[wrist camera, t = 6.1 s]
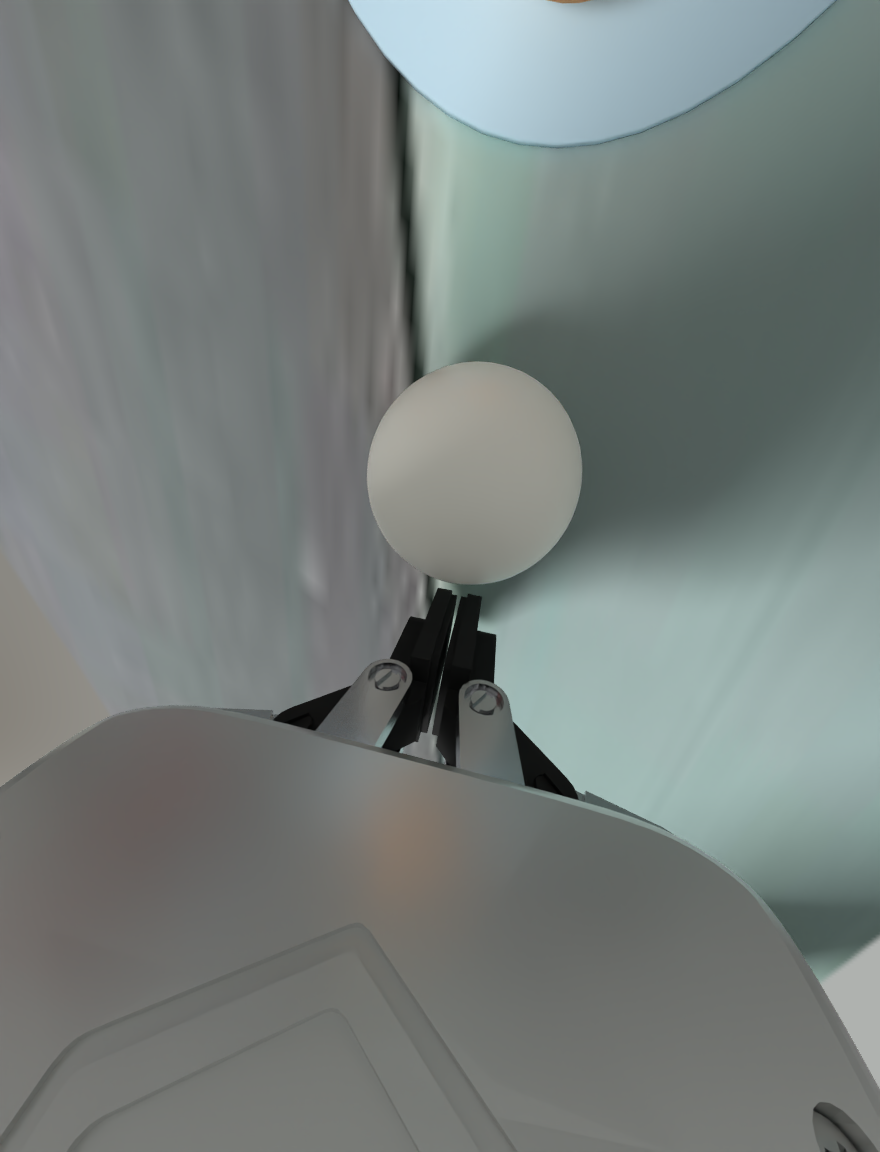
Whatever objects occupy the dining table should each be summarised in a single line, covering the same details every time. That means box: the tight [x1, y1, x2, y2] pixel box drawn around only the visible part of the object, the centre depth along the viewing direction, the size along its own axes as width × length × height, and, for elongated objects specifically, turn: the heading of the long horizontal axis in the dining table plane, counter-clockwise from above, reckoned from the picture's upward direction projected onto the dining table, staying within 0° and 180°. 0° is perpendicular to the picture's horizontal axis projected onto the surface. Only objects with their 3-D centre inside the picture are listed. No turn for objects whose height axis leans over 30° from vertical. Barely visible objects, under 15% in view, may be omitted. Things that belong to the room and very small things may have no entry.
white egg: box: [367, 361, 582, 585], centre depth 9 cm, size 6×6×6 cm
